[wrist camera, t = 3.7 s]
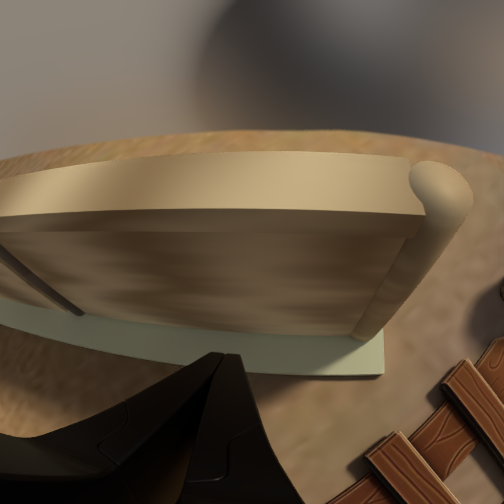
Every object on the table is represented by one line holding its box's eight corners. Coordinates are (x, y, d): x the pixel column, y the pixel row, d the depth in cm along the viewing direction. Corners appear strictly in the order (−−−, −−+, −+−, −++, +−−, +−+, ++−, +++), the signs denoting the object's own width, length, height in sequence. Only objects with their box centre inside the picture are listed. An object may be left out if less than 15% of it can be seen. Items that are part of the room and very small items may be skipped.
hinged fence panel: (86, 319, 17) (-35, 219, 8) (94, 292, 18) (-14, 182, 9) (379, 341, 14) (482, 219, 6) (378, 308, 15) (460, 165, 7)
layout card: (-23, 316, 18) (-27, 314, 18) (27, 195, 24) (25, 192, 24) (382, 374, 14) (384, 373, 14) (365, 185, 21) (366, 180, 20)
